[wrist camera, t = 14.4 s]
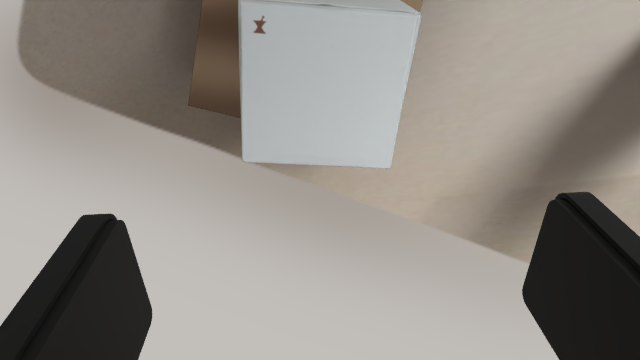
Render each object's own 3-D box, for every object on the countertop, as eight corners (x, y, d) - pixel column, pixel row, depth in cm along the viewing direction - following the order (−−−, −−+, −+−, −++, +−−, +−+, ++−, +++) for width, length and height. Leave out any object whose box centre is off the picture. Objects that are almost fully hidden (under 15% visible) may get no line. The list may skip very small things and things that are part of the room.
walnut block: (231, -111, 30) (218, -119, 25) (416, -49, 32) (439, -45, 27) (203, 80, 36) (188, 105, 31) (358, 118, 39) (368, 148, 34)
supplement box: (255, 83, 31) (234, 165, 20) (257, -32, 27) (234, -10, 16) (357, 90, 31) (392, 174, 20) (373, -20, 28) (425, 8, 17)
